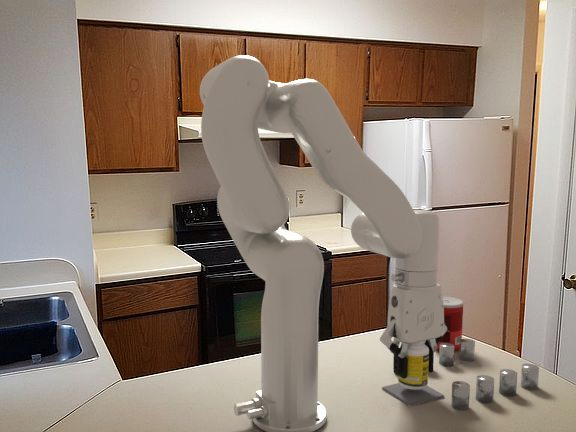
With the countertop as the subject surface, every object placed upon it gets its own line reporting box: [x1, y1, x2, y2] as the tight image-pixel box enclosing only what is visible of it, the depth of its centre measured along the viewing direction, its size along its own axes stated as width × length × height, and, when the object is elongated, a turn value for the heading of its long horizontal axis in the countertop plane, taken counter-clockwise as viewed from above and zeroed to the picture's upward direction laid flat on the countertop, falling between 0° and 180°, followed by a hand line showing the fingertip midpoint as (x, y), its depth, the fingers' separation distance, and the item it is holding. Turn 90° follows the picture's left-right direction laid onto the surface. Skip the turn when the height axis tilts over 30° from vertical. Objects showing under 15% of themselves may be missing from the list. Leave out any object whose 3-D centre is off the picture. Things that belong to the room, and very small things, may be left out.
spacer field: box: [394, 338, 540, 411], centre depth 106 cm, size 21×19×4 cm
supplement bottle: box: [397, 340, 429, 390], centre depth 100 cm, size 5×5×10 cm
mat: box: [381, 382, 445, 407], centre depth 101 cm, size 8×8×1 cm
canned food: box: [436, 295, 464, 353], centre depth 125 cm, size 8×8×11 cm
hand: (413, 371), depth 100 cm, fingers closed on supplement bottle, 5 cm apart
